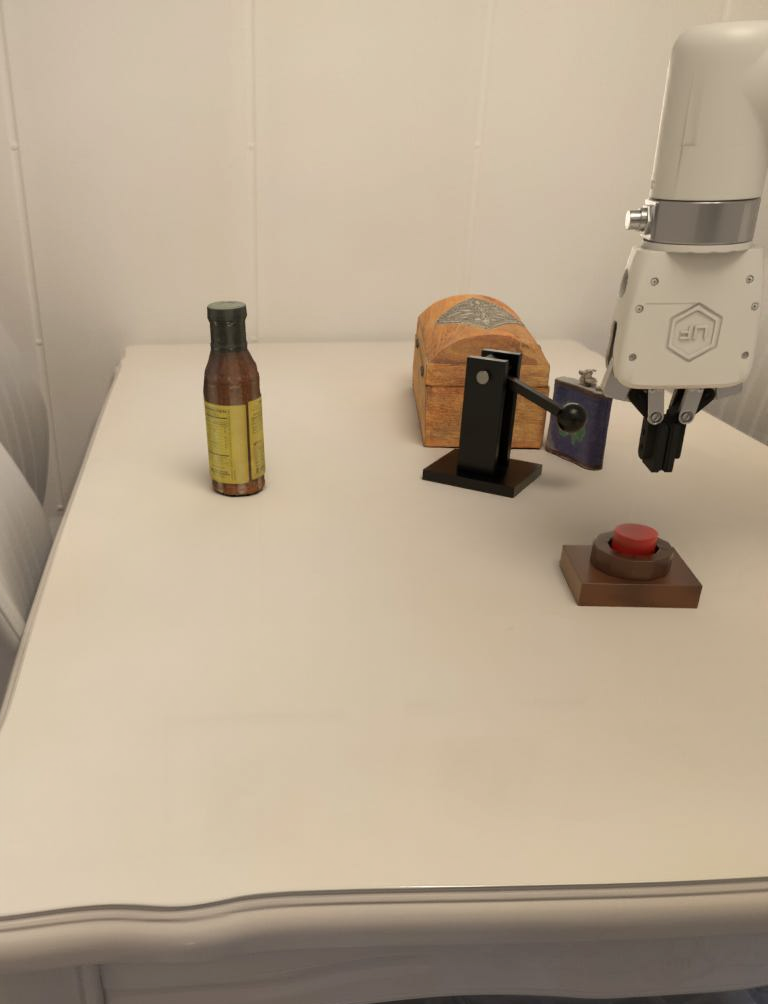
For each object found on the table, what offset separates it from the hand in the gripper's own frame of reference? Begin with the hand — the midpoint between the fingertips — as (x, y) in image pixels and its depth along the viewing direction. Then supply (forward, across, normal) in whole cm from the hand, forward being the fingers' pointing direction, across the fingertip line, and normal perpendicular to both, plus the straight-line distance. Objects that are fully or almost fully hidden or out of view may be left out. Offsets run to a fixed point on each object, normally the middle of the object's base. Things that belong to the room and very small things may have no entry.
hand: (656, 466), depth 76 cm
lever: (+2, -6, +26) cm, 27 cm away
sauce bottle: (+10, -38, +23) cm, 45 cm away
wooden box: (+11, -8, +53) cm, 55 cm away
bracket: (+11, -10, +28) cm, 32 cm away
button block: (+11, -1, 0) cm, 11 cm away
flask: (+11, +2, +35) cm, 37 cm away
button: (+7, -1, 0) cm, 8 cm away
